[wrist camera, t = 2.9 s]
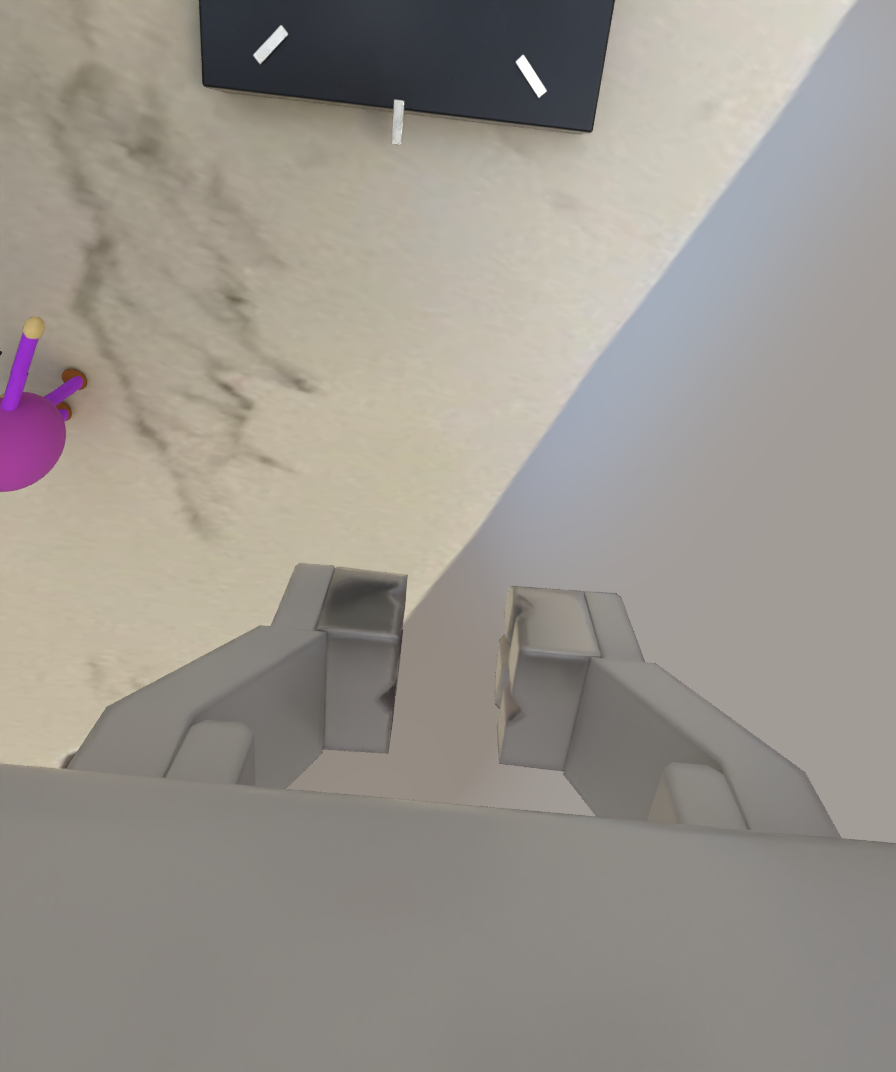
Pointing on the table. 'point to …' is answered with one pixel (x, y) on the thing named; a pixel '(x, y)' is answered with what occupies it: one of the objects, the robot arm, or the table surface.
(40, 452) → the wizard figurine
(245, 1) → the control panel
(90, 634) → the table surface
